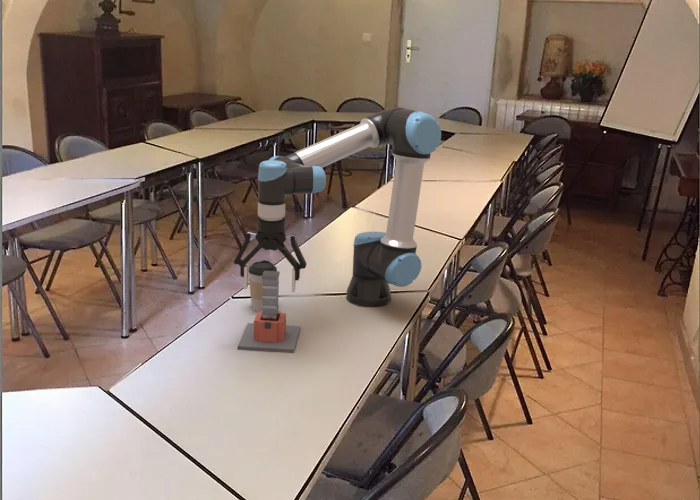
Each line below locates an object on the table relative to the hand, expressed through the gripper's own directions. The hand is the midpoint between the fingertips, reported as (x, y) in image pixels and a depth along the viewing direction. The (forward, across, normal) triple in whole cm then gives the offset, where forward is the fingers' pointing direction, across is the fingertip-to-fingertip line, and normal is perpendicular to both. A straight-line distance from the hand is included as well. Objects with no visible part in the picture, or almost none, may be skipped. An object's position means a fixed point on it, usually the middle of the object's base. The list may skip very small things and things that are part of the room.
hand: (269, 289), depth 204 cm
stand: (+16, 0, 0) cm, 16 cm away
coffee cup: (+16, +6, -23) cm, 29 cm away
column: (+14, 0, 0) cm, 14 cm away
